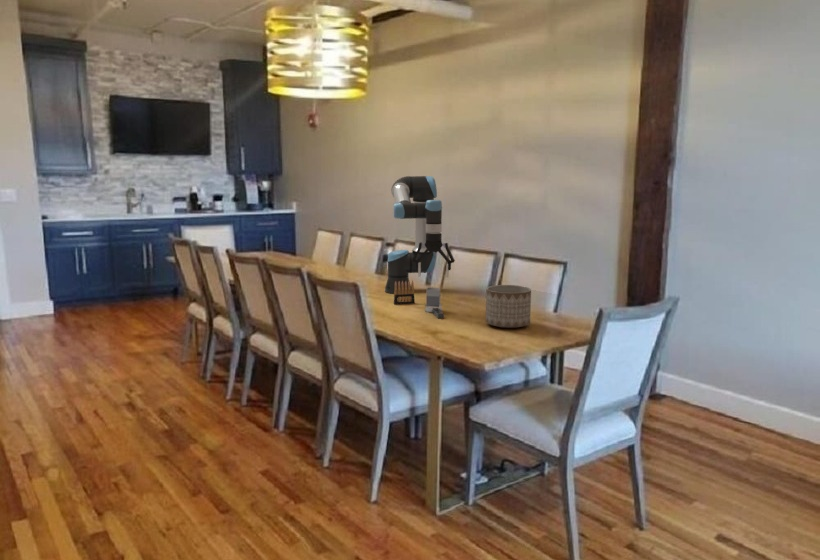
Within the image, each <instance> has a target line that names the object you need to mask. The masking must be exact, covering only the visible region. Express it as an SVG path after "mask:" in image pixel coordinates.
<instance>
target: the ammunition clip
mask: <svg viewBox="0 0 820 560" xmlns="http://www.w3.org/2000/svg"><path fill="white" fill-rule="evenodd" d="M410 284H411V288H410ZM414 285H415V284H414V280H411V281H410V280H409V282H408V291H407V282H406V281H405V288H404V283H403V281H402V284H401V288H400V281H399V282H398V294H397V283H396V281H395V288H394V294H393V304H394V305H396V306H397V305H410V304H411V305H413V304H414V305H415V303H416V302H415V299H416V298H415V286H414Z"/></svg>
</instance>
